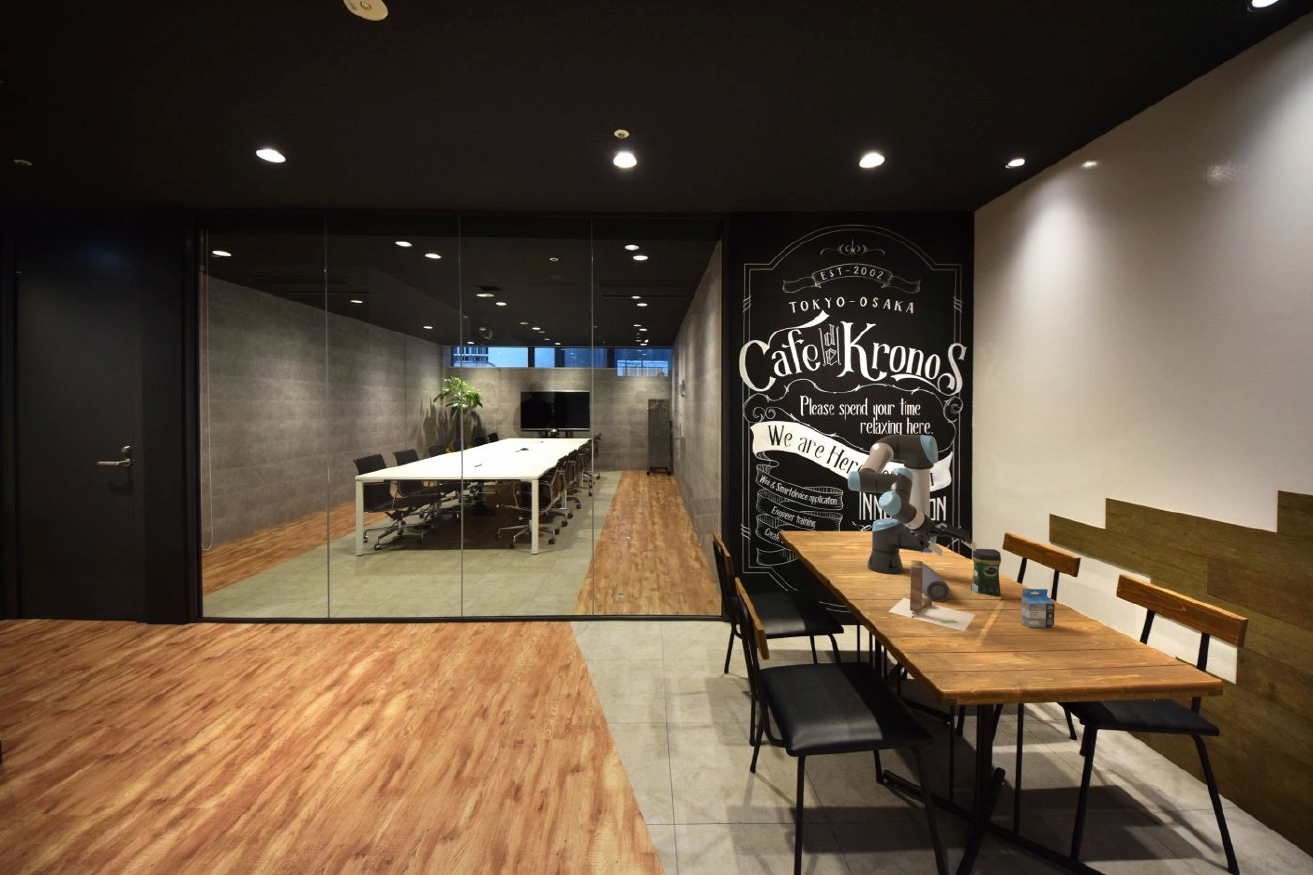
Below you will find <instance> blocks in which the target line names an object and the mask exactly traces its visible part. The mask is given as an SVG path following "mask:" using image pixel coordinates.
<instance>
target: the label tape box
mask: <svg viewBox="0 0 1313 875" xmlns="http://www.w3.org/2000/svg"><path fill="white" fill-rule="evenodd" d="M1048 591H1049V589H1048V588H1022V591H1021V592H1022V593H1021V594H1022V595H1021V621H1020V622H1021V624H1022V625H1024V626H1025V627H1027V628H1055V607H1056V604H1055V602H1053V600H1051V598H1050V597H1049V596H1048Z"/></svg>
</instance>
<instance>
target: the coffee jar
mask: <svg viewBox="0 0 1313 875" xmlns="http://www.w3.org/2000/svg"><path fill="white" fill-rule="evenodd" d="M971 559H972V561H973V574H972V580H971V588H970V590H971V592H972V593H973V592H974V593H977V594H981V595H987V596H988V595H989V596H992V597H993V596H994V597H997V598H1000V597H1001V584H1000V583H1001V582H1000V565H1001V563H1002V555H1001V552H1000V551H998V550H997V549H993V548H992V549H991V548H976V550H975V551H974V550H972V555H971Z"/></svg>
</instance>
